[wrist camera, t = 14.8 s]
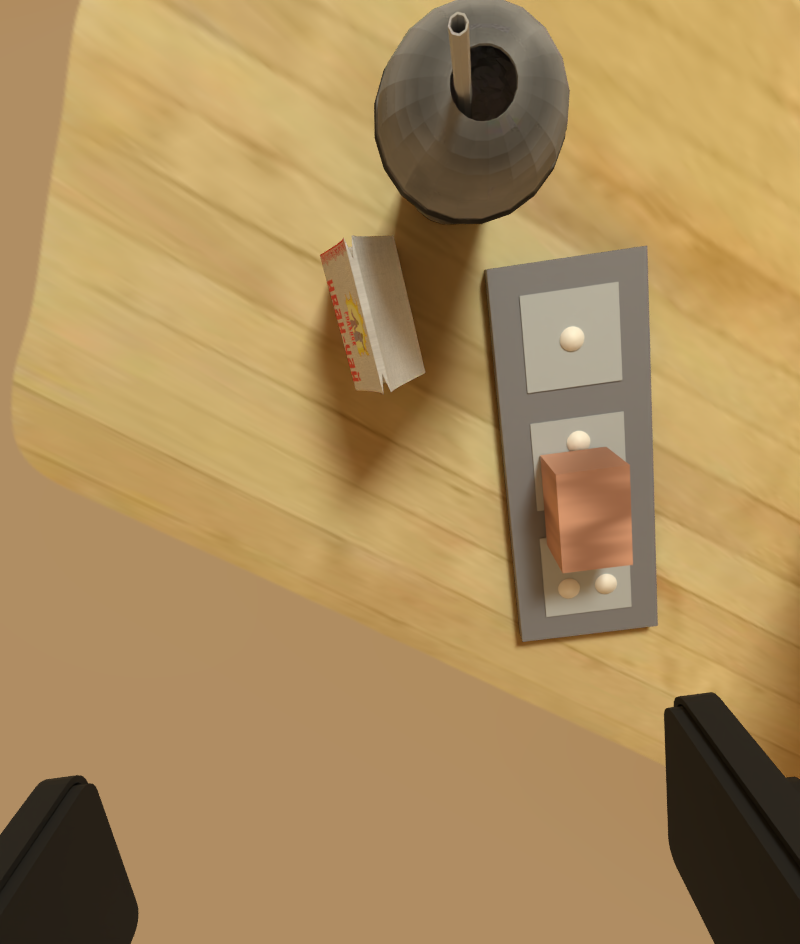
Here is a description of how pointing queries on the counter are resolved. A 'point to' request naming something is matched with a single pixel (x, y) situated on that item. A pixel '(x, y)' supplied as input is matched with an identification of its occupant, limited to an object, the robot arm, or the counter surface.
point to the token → (587, 509)
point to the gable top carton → (373, 312)
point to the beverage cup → (472, 111)
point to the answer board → (575, 425)
